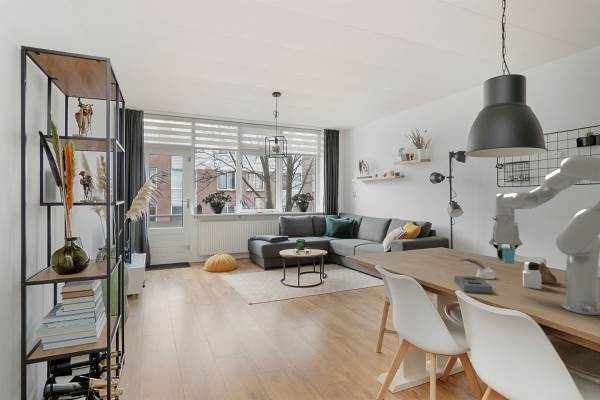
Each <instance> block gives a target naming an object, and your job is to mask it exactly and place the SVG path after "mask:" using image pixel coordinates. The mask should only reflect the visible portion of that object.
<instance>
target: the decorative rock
mask: <svg viewBox="0 0 600 400" xmlns="http://www.w3.org/2000/svg"><path fill="white" fill-rule="evenodd" d="M538 264H539V272H540V273H541V283H545V284H546V283H548V284H556V283H557V278H556V276H555V275H554V274H553V273H552V272H551V270H550V269H549V268H548V267H547V266H546V264H545V263H544V261H542V262H540V263H538Z"/></svg>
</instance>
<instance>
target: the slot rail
mask: <svg viewBox="0 0 600 400" xmlns="http://www.w3.org/2000/svg"><path fill="white" fill-rule="evenodd" d="M454 282H455V285H457V286H458V287H459V288H460V289H461V291H463V292H464V293H476V294H493V286H492V285H491V284H489V283H488V282H487V281H486V280H484V279H483V278H480V277H476V276H470V275H469V276H467V275H466V276H465V275H454Z"/></svg>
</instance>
